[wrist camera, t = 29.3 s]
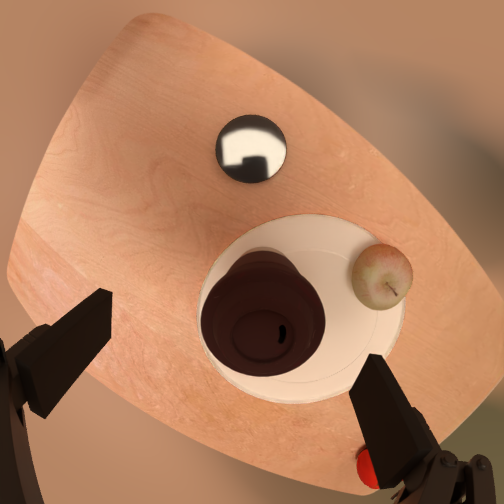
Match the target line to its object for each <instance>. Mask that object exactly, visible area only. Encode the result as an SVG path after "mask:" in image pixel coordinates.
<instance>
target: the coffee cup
mask: <svg viewBox="0 0 504 504" xmlns="http://www.w3.org/2000/svg"><path fill="white" fill-rule="evenodd" d="M325 325H326V318H325V311H324V307H323V304H322V302H321V300H320V297H319V295H318V293H317V291H316V290H315V288H314V287H313V286H312V284H311V283H310V282H309V281H308V280H307V279H306V278H305V277H303V276H302V275H301V274H300V273H299V271H298V270H297V268H296V267H295V266H294V264H293V263H292V262H291V261H290V260H289V259H288V258H287V257H286V256H285V255H284V254H283V253H282V252H280V251H278V250H276V249H274V248H271V247H256V248H252V249H250V250H248V251H246V252H245V253H243V254H242V255H241V256H240V257H239V258H238V260H236V261H235V262H234V263H233V265H232V266H231V267H230V269H229V270H228V272H227V273H226V274H225V275H224V276H223V277H222V278H220V279H219V280H218V281H217V282H216V284H215V285H214V286H213V287H212V289H211V290H210V292H209V294H208V296H207V298H206V300H205V302H204V305H203V307H202V311H201V318H200V326H201V332H202V336H203V339H204V341H205V343H206V346H207V347H208V349H209V351H210V352H211V353H212V354H213V355H214V357H215V358H216V359H217V360H218V361H220V362H221V363H222V364H223V365H225V366H226V367H228V368H230V369H231V370H233V371H236V372H238V373H241V374H245V375H249V376H255V377H270V376H276V375H281V374H284V373H287V372H290V371H292V370H294V369H296V368H298V367H299V366H301V365H302V364H304V363H305V362H306V361H307V360H308V359H309V358H310V357H311V356H312V355H313V354H314V353H315V351H316V350H317V349H318V347H319V345H320V343H321V341H322V338H323V335H324V331H325Z"/></svg>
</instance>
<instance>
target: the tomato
mask: <svg viewBox="0 0 504 504" xmlns="http://www.w3.org/2000/svg"><path fill="white" fill-rule="evenodd" d="M357 473H358V475H359V477H360V479H361V481H362V482H363V483H364V484H365V485H367V486H369V487H370V488H372V489H379V485H378V482H377V478H376V475H375V472H374V468H373V465H372V462H371V459H370V456H369V452H368V449H365V450H363V451H362V452H361V453H360V455H359V456H358V460H357ZM402 481H403V480H402Z"/></svg>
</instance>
